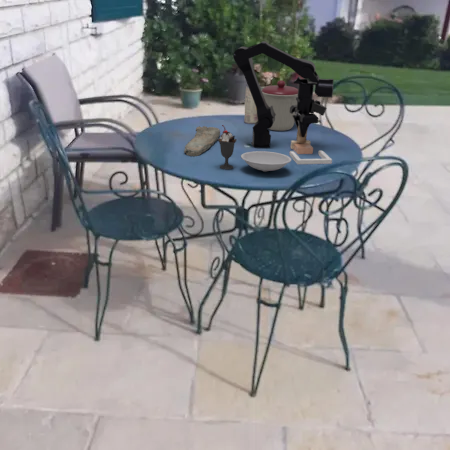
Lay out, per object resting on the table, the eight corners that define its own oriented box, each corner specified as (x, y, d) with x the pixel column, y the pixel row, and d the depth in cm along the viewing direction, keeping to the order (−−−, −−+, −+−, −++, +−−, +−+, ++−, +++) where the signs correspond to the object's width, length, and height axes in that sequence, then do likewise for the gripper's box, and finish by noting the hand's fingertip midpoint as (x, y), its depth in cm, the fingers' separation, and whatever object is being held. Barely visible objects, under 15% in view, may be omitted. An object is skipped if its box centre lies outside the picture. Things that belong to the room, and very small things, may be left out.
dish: (293, 167, 199) (294, 154, 197) (286, 180, 186) (287, 166, 184) (245, 162, 203) (246, 149, 201) (235, 174, 190) (236, 160, 188)
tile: (297, 154, 214) (298, 148, 213) (293, 149, 220) (293, 143, 219) (312, 154, 215) (313, 147, 214) (307, 149, 221) (308, 143, 220)
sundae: (216, 164, 200) (217, 123, 194) (234, 164, 200) (236, 123, 194) (217, 170, 194) (218, 128, 188) (236, 170, 194) (238, 128, 188)
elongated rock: (177, 159, 210) (203, 162, 208) (178, 145, 207) (203, 149, 205) (201, 131, 240) (224, 134, 238) (202, 119, 237) (225, 122, 236)
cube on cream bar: (307, 146, 223) (311, 125, 218) (310, 149, 220) (313, 128, 216) (289, 146, 222) (292, 125, 217) (291, 149, 219) (294, 128, 214)
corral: (297, 164, 202) (297, 160, 202) (289, 154, 213) (289, 151, 212) (331, 163, 204) (332, 159, 204) (321, 154, 215) (322, 150, 214)
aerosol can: (257, 124, 254) (259, 80, 246) (242, 123, 256) (244, 79, 247) (260, 121, 260) (262, 77, 252) (245, 120, 262) (247, 76, 253)
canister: (249, 127, 250) (251, 79, 241) (277, 121, 261) (280, 75, 252) (279, 135, 238) (282, 85, 229) (306, 129, 249) (311, 81, 240)
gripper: (333, 100, 205) (329, 142, 211) (317, 90, 221) (314, 129, 228) (304, 101, 203) (300, 142, 209) (290, 91, 219) (287, 129, 226)
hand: (301, 135), depth 218 cm, fingers closed on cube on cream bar, 3 cm apart
